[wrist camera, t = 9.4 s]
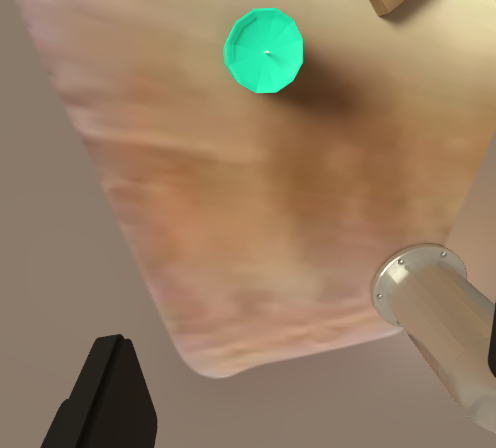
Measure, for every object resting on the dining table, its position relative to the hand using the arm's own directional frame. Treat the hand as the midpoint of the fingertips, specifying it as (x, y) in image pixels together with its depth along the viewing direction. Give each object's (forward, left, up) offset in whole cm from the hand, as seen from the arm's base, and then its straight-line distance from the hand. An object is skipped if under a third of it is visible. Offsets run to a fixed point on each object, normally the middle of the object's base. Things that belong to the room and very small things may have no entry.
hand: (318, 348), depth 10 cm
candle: (+5, -6, -34) cm, 35 cm away
